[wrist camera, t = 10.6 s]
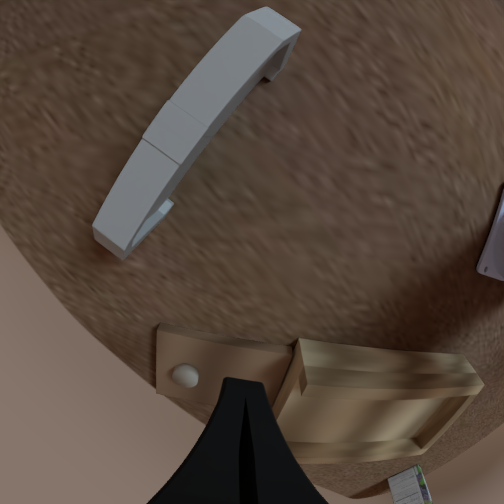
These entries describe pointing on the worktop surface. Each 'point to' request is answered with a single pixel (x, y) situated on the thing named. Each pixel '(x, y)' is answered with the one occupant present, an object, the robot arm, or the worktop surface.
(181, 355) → the lid plate
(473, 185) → the worktop surface
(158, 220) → the arched grey pull
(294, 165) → the worktop surface
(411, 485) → the syrup box
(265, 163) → the worktop surface
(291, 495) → the robot arm
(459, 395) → the oak box
